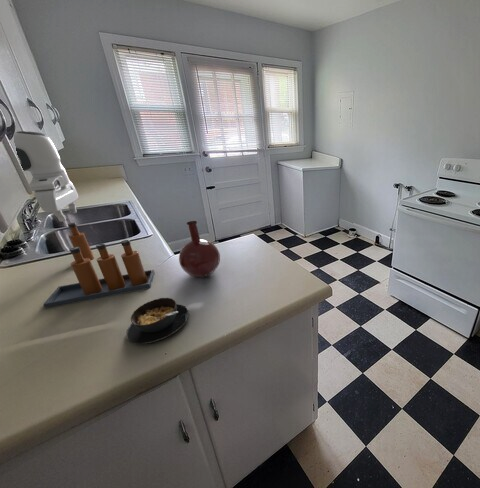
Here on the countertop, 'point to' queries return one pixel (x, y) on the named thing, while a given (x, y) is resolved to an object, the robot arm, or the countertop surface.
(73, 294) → the tray
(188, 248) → the round-bottom flask
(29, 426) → the countertop surface
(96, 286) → the bottle
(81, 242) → the loose bottle
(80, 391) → the countertop surface
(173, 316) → the soup bowl
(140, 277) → the bottle
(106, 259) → the bottle
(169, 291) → the countertop surface
